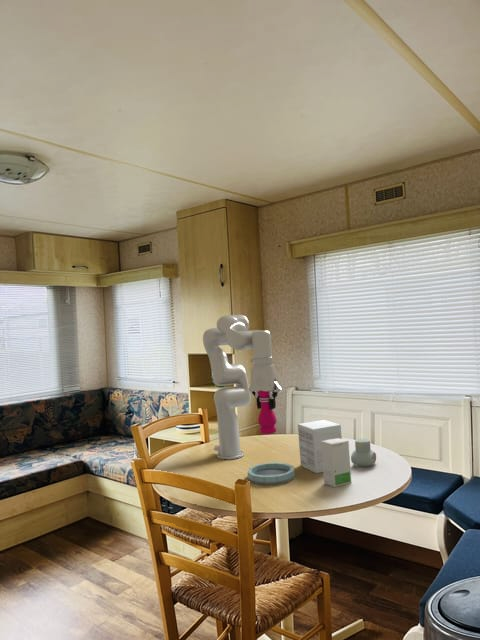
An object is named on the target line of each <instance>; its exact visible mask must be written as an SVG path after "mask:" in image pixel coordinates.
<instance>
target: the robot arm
mask: <svg viewBox="0 0 480 640" xmlns="http://www.w3.org/2000/svg"><path fill="white" fill-rule="evenodd" d="M249 328H250V322H249V320H248V317H247V316H246V315H244V314H231V315H230V314H229V315H228V314H227V315H223V316H221V317H219V318H218V320H217V321H216V327H213V328H212V327H211V328H209V329H206V330H204V332H203V335H202V343H203V347H204V350H205V353H206V354H207V356H208V359H209V364H210V369H211V374H212V380H213V382H214V384H215V385H216V386H229V385H230V386H231V385H236V386H231V387H222V388H219V389H217V390H216V391H215V392H214V394H213V402H214V406H215V410H216V415H217V416H216V418H217V430H218V443H219V445H215V446H214V447H213V451H216V452H217V454H216V457H217V459H219V460H224V459H225V460H226V459H227V460H236V459H237V460H238V459H239V458H243V456H244V455H245V453H244V452H245V451H243V450H241V441H240V428H239V417H238V414H237V413H236V412H235V411H234V410H233V409H234V408H238V407H246V406H249V404H251V401H252V395H253V396H254V398H255V399H256V400H255V401H256V406H257V407H256V408H257V409H258V410H261V402H260V399H259V398H260V396H259V395H258V391H260V390H262V391H265V392H269V395H270V399H269V405H270V409H272V410H274V409H276V406H277V404H276V402H277V401H276V398H277V397H278V395H279V394H280V393H281V392H282V391H283V388H282V387H281V386H280V385H279V382H278V376H277V375H278V374H277V370H276V367H275V365H274V364H273V351H272V350H273V348H272V337H271V332H270V331H269V330H267V329H266V330H259V329H258V330H257V329H255V330H254V329H253V330H249ZM227 345H228V346H229V347H231V348H232V349H234V350H236V351H243V350H244V351H245V350H252V359H251V360H250V361H251V362H250V363H252V364H253V365H252V366H251V369H250V370H251V371H250V384H249V380H248V375H247V370H246V368H245V367H244V365H242V364H240V363H230V362H229V358H228V355H227V353H226V352H225V351H224V350H223V349H222V348H221V347H220V346H227ZM272 392H273V393H272ZM251 394H252V395H251Z"/></svg>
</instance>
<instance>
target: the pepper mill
mask: <svg viewBox="0 0 480 640" xmlns="http://www.w3.org/2000/svg"><path fill="white" fill-rule="evenodd" d="M272 393H273V392H272ZM258 395H259V396H260V398H259V399H260V402H261V408H260V411H259V414H258V418H257V423H258V425H259V426H260V427H259V433H260V434H264V435H265V434H266V435H268V434H274V433H276V432H277V427H276V426H275V425H276V424H277V417H276V414H275V412H274V409H270V405H269V399H270V395H269V392H265V391H262V390H260V391H258Z"/></svg>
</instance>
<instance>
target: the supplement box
mask: <svg viewBox="0 0 480 640" xmlns="http://www.w3.org/2000/svg"><path fill="white" fill-rule="evenodd" d="M297 429H298V432H297V434H298V445H299V446H298V447H299V460H300V461H299V462H300V466H301V467H303V468H305V469H307V470H309V471H311V472H313V473H315V474H319V473H323V458H322V444H321V441H325V440H329V439H337V438H339V439H343V438H342V425H341V424H339V423H336V422H333V421H330V420H326V419H320V420H313V421H309V422H301V423H297Z"/></svg>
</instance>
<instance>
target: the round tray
mask: <svg viewBox="0 0 480 640" xmlns="http://www.w3.org/2000/svg"><path fill="white" fill-rule="evenodd" d="M295 475H296V474H295V466H294V465H291V464H289V463H284V462H278V461H277V462H265V463H258V464H255V465H253V466H251V467H248V469H247V478H248V481H249V483H252V484H254V485H258V486H279V485H285V484H288V483H289V482H292V481H293V480H294V479H295Z"/></svg>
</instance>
